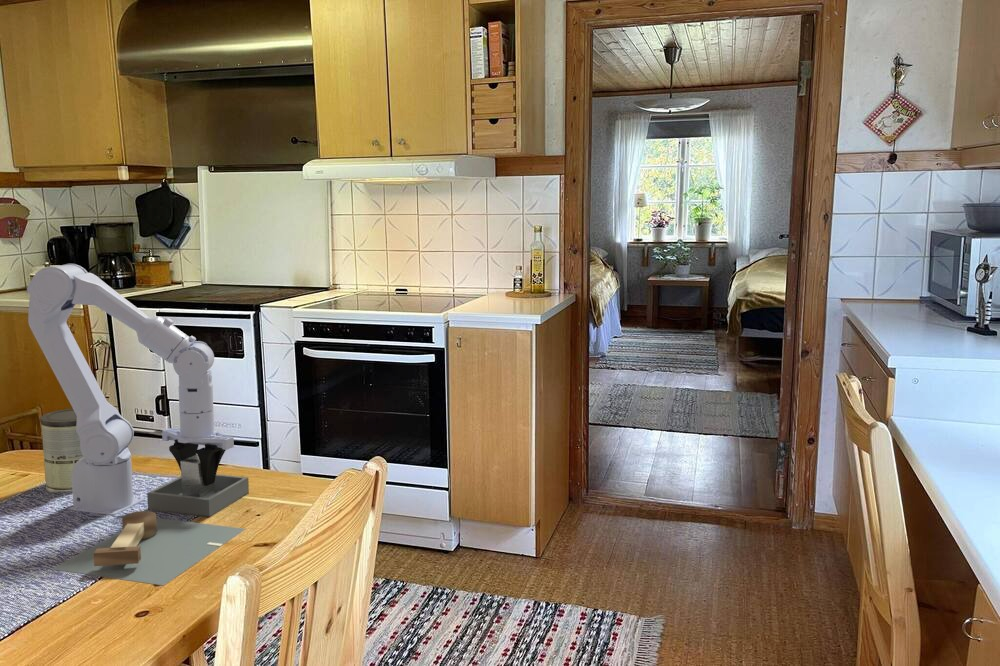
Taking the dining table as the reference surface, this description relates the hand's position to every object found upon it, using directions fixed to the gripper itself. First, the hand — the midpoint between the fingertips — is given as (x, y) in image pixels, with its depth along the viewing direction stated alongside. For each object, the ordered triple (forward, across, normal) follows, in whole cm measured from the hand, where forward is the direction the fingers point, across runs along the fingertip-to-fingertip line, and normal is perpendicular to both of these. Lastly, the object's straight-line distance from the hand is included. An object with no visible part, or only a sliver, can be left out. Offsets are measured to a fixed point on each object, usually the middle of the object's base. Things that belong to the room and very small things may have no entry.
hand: (199, 482), depth 140 cm
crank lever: (+3, +5, -20) cm, 21 cm away
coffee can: (+4, -29, -1) cm, 29 cm away
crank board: (+4, +8, -19) cm, 21 cm away
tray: (+4, 0, 0) cm, 4 cm away
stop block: (+2, 0, 0) cm, 3 cm away
